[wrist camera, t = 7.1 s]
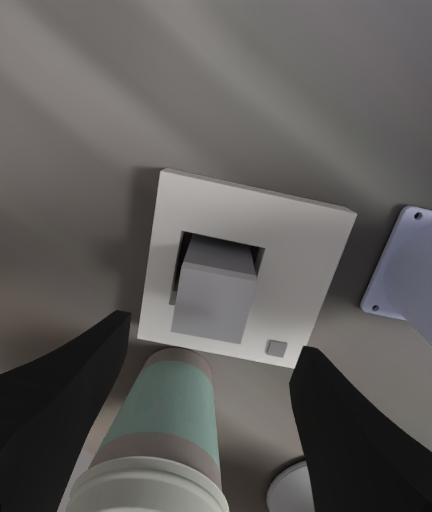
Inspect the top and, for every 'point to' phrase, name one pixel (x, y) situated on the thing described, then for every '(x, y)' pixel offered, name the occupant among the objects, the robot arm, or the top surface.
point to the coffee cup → (158, 444)
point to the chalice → (291, 491)
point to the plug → (215, 289)
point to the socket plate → (266, 266)
